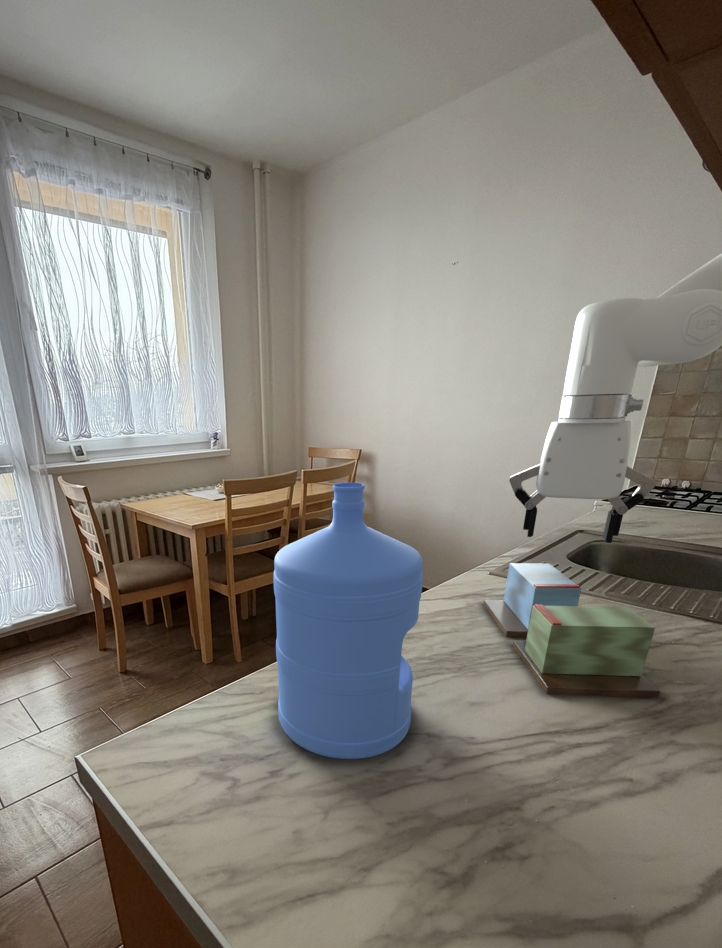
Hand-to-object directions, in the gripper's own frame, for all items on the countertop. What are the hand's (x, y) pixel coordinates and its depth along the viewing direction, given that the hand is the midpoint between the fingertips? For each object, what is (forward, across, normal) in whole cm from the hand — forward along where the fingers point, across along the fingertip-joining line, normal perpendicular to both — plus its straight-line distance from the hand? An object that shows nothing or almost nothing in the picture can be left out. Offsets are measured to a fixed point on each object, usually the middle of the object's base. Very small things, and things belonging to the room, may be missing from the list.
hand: (567, 537), depth 70 cm
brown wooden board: (+16, -3, +10) cm, 19 cm away
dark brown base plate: (+16, +2, -5) cm, 17 cm away
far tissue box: (+15, +2, -5) cm, 16 cm away
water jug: (+16, +22, +33) cm, 43 cm away
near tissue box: (+15, -3, +10) cm, 18 cm away
